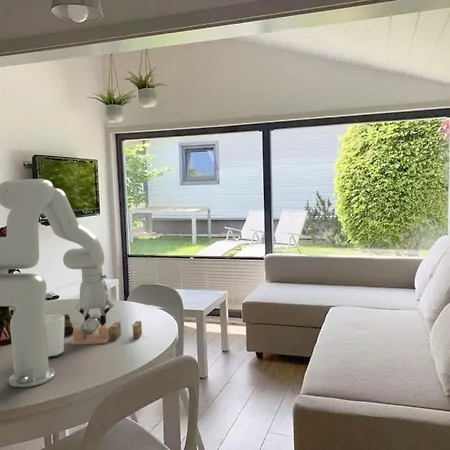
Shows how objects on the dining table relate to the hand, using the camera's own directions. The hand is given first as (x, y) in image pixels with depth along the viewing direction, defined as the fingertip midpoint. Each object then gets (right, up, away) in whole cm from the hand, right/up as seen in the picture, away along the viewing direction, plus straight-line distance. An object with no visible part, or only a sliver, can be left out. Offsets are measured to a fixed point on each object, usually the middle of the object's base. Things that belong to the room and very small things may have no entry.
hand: (95, 324), depth 175 cm
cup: (-10, -6, -19) cm, 22 cm away
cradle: (0, -5, -4) cm, 6 cm away
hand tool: (-15, -5, +10) cm, 19 cm away
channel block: (+13, -4, -3) cm, 13 cm away
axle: (0, -1, -3) cm, 3 cm away
